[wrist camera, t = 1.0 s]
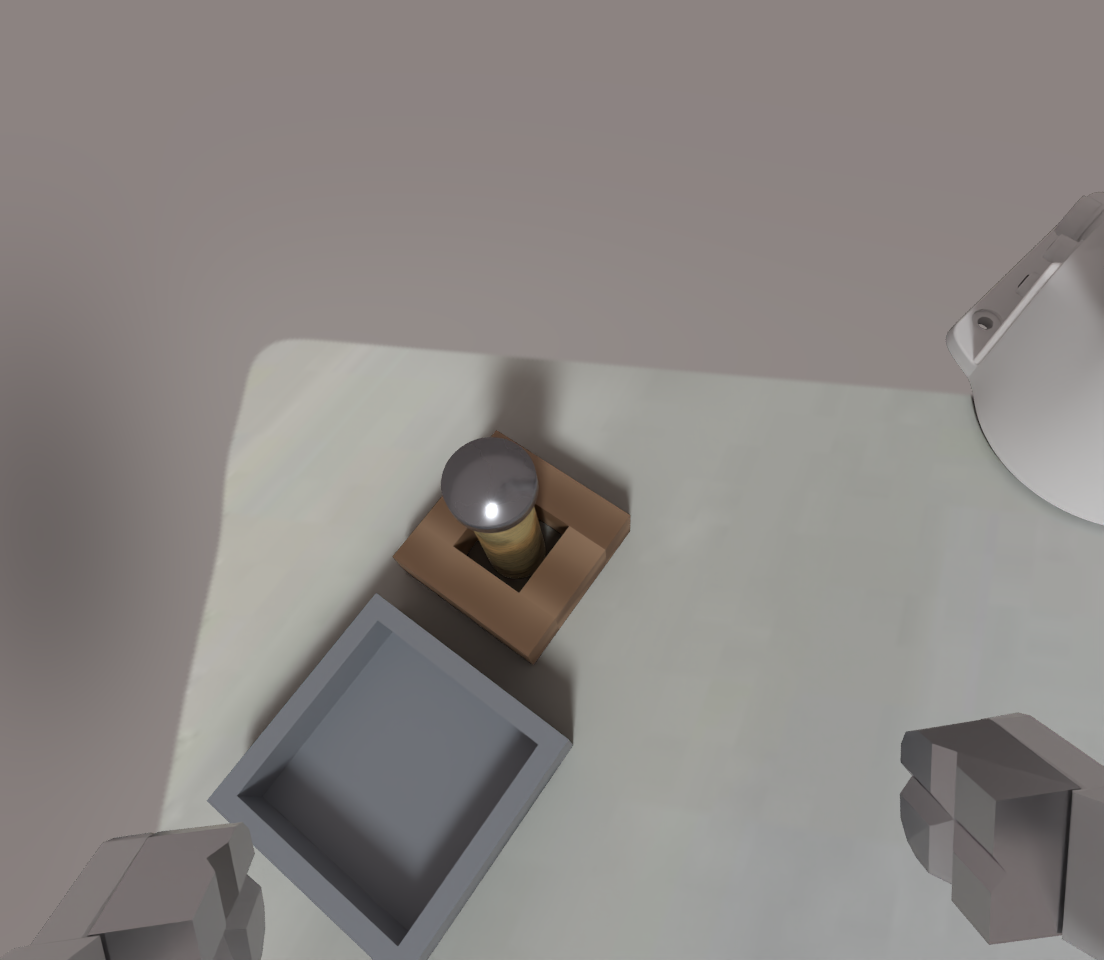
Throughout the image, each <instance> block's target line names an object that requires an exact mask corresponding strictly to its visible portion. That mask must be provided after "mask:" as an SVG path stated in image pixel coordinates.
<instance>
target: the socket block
mask: <svg viewBox="0 0 1104 960" xmlns="http://www.w3.org/2000/svg"><path fill="white" fill-rule="evenodd" d="M491 437H497V438H503V439H507V440H510V441H512V442H514V441H513V440H511V439H510V438H508V437H506V436H505V435H503V434H502V433H500V432H499V431H497V430H496V431H495V432H494V434H493V435H492V436H491ZM514 443H516V442H514ZM516 444H517V443H516ZM518 445H519V444H518ZM519 446H520V447H522V446H521V445H519ZM522 448H523V449H524V450H525V451H526V452H527V453H528V455H529V456H530V458H531V459H532V461H533V464H534V466H535V470H536V474H537V478H538V485H539V489H538V497H537V500H536V503H535V505H534V507H535V511H536V514H537V518H538V519H540V520H541V521H543V522H544V523H546V524H547V525H549V526H550V527H552V528H553V529H555V530H556V531H558V532H559V533H561V534H562V537H561V538H560V539H559V541H558V542H557V543H556V545H555V546H554V547H553V548H552V550H551V551H550V552H549V554H548V555H547V556H546V558H545V559H544V560H543V562H542V563H541V564H540V566H539V567H538V568H537V570H536V571H535V572H534V574H533V575H532V576H531V578H530V579H529V580H528V582H527V583H526V584H525V586H524V587H523V588H522V590H521V591H520V592H519V593H518V592H517V591H516V590H514V589H513V588H511V587H510V586H508V585H507V584H506V583H504V582H503V581H501V580H500V579H499V578H497V577H496V576H494V575H493V574H492V573H490V572H489V571H487V570H486V569H484V568H483V567H482V566H480V565H479V564H477V563H476V562H475V561H473V560H472V559H470V558H469V557H468V556H466V555H467V553H468V552H469V551H470V550H471V548H472V547H473V546H474V545H475V543H476V542H477V541H478V538H477V536H476V534H475V532H474V531H473V530H471V529H468V528H467V527H465V526H463V525H462V524H461V523H459V522H458V521H457V520H456V519H455V517H454V516H453V515H452V513H451V511H450V510H449V508H448V506H447V504H446V502H445V500H444V498H443V496H442V497H441V498H440V499H439V501H438V502H437V503H436V504H435V505H434V507H433V508H432V509H431V510H430V512H429V513H428V514H427V515H426V516H425V518H424V519H423V520H422V521H421V523H420V524H419V525H418V526H417V527H416V529H415V530H414V531H413V532H412V534H411V535H410V536H409V537H408V538H407V540H406V541H405V542H404V543H403V545H402V546H401V547H400V548H399V549H398V551H397V552H396V553H395V554H394V555H393V558H394V559H395V560H396V561H397V562H398V563H399V565H400V566H401V567H402V568H403V569H404V570H405V571H406V572H408V573H409V574H410V575H412V576H413V577H415V578H416V579H417V580H419V581H420V582H421V583H423V584H424V585H425V586H427V587H428V588H429V589H431V590H432V591H433V592H435V593H436V594H438V595H439V596H440V597H442V598H443V599H444V600H446V601H447V602H448V603H450V604H451V605H452V606H454V607H455V608H456V609H458V610H459V611H461V612H462V613H463V614H465V615H466V616H467V617H469V618H470V619H471V620H473V621H474V622H475V623H477V624H478V625H480V626H481V627H482V628H484V629H485V630H486V631H488V632H489V633H490V634H492V635H493V636H494V637H496V638H497V639H498V640H500V641H501V642H503V643H504V644H505V645H507V646H508V647H509V648H511V649H512V650H513V651H515V652H516V653H517V654H519V655H520V656H521V657H523V658H524V659H526V660H527V661H528V662H530V663H531V664H532V665H534V664H535V662H536V661H537V659H538V658H539V657H540V655H541V654H542V652H543V651H544V650H545V648H546V647H547V646H548V644H549V643H550V641H551V640H552V639H553V637H554V636H555V634H556V633H557V632H558V630H559V629H560V628H561V626H562V625H563V623H564V622H565V621H566V619H567V618H568V616H569V615H570V614H571V612H572V611H573V609H574V608H575V607H576V605H577V604H578V603H579V601H580V600H581V598H582V597H583V596H584V594H585V593H586V591H587V590H588V589H589V587H590V586H591V585H592V583H593V582H594V580H595V579H596V578H597V576H598V575H599V573H600V572H601V571H602V569H603V568H604V566H605V565H606V564H607V562H608V561H609V560H610V558H611V557H612V555H613V554H614V553H615V551H616V550H617V548H618V547H619V546H620V544H621V543H622V542H623V540H624V539H625V537H626V536H627V535H628V533H629V532H630V515H629V514H627V513H626V512H624V511H623V510H621V509H620V508H618V507H616V506H615V505H613V504H612V503H610V502H609V501H607V500H605V499H604V498H602V497H601V496H599V495H598V494H596V493H594V492H593V491H591V490H590V489H588V488H587V487H585V486H583V485H582V484H580V483H579V482H577V481H576V480H574V479H572V478H571V477H569V476H568V475H566V474H565V473H563V472H561V471H560V470H558V469H557V468H555V467H554V466H552V465H550V464H549V463H547V462H546V461H544V460H543V459H541V458H539V457H538V456H536V455H535V454H533V453H532V452H530V451H528V450H527V449H525V448H524V447H522Z"/></svg>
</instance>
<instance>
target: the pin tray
mask: <svg viewBox="0 0 1104 960" xmlns="http://www.w3.org/2000/svg"><path fill="white" fill-rule="evenodd" d="M572 746H573V744H572V743H571V742H570V741H569V739H567V738H566V737H565V736H563V735H562V734H561V733H560V732H558V731H557V730H556V729H554V728H553V727H552V726H550V725H549V724H548V723H546V722H545V721H544V720H542V719H541V718H540V717H539V716H537V715H536V714H535V713H533V712H532V711H531V710H529V709H528V708H527V707H525V706H524V705H523V704H521V703H520V702H519V701H518V700H516V699H515V698H514V697H512V696H511V695H510V694H508V693H507V692H506V691H504V690H503V689H502V688H500V687H499V686H498V685H497V684H495V683H494V682H493V681H491V680H490V679H489V678H487V677H486V676H485V675H483V674H482V673H481V672H479V671H478V670H477V669H475V668H474V667H473V666H472V665H470V664H469V663H468V662H466V661H465V660H464V659H462V658H461V657H460V656H458V655H457V654H456V653H454V652H453V651H452V650H451V649H449V648H448V647H447V646H445V645H444V644H443V643H441V642H440V641H439V640H437V639H436V638H435V637H433V636H432V635H431V634H430V633H428V632H427V631H426V630H424V629H423V628H422V627H420V626H419V625H418V624H416V623H415V622H414V621H412V620H411V619H410V618H409V617H407V616H406V615H405V614H403V613H402V612H401V611H399V610H398V609H397V608H395V607H394V606H393V605H391V604H390V603H389V602H387V601H386V600H385V599H384V598H382V597H381V596H380V595H378V594H377V593H376V594H375V595H374V596H373V597H372V599H371V600H370V601H369V602H368V603H367V605H366V606H365V607H364V608H363V610H362V611H361V612H360V613H359V614H358V616H357V617H356V618H355V619H354V621H353V622H352V623H351V624H350V626H349V627H348V628H347V629H346V630H345V632H344V633H343V634H342V635H341V637H340V638H339V639H338V640H337V642H336V643H335V644H334V645H333V646H332V648H331V649H330V650H329V651H328V653H327V654H326V655H325V656H324V657H323V659H322V660H321V661H320V662H319V664H318V665H317V666H316V667H315V669H314V670H313V671H312V672H311V673H310V675H309V676H308V677H307V678H306V680H305V681H304V682H303V683H302V684H301V686H300V687H299V688H298V689H297V691H296V692H295V693H294V694H293V696H292V697H291V698H290V699H289V700H288V702H287V703H286V704H285V705H284V707H283V708H282V709H281V710H280V712H279V713H278V714H277V715H276V716H275V718H274V719H273V720H272V721H271V723H270V724H269V725H268V726H267V727H266V729H265V730H264V731H263V732H262V734H261V735H260V736H259V737H258V739H257V740H256V741H255V742H254V743H253V745H252V746H251V747H250V748H249V750H248V751H247V752H246V753H245V754H244V756H243V757H242V758H241V759H240V761H239V762H238V763H237V764H236V766H235V767H234V768H233V769H232V770H231V772H230V773H229V774H228V775H227V777H226V778H225V779H224V780H223V782H222V783H221V784H220V785H219V786H218V788H217V789H216V790H215V791H214V793H213V794H212V795H211V796H210V797H209V799H208V800H207V802H209V803H210V804H211V805H212V806H213V807H214V808H215V809H216V810H217V811H218V812H219V813H220V814H221V815H222V816H223V817H224V818H225V819H226V820H227V821H228V822H229V823H238V822H243V823H244V824H245V825H246V826H247V827H248V828H249V830H250V835H251V839H252V844H253V845H254V846H255V847H256V848H257V849H258V850H259V851H260V852H261V853H262V854H263V855H264V856H265V857H266V858H267V859H268V860H269V861H270V862H271V863H272V864H273V865H275V866H276V867H277V868H278V869H279V870H280V871H281V872H282V873H283V874H284V875H285V876H286V877H287V878H288V879H289V880H290V881H291V882H292V883H293V884H294V885H295V886H297V887H298V888H299V889H300V890H301V891H302V892H303V893H304V894H305V895H306V896H307V897H308V898H309V899H310V900H311V901H312V902H313V903H314V904H315V905H316V906H317V907H319V908H320V909H321V910H322V911H323V912H324V913H325V914H326V915H327V916H328V917H329V918H330V919H331V920H332V921H333V922H334V923H335V924H336V925H337V926H338V927H339V928H341V929H342V930H343V931H344V932H345V933H346V934H347V935H348V936H349V937H350V938H351V939H352V940H353V941H354V942H355V943H356V944H357V945H358V946H359V947H360V948H361V949H363V950H364V951H365V952H366V953H367V954H368V955H369V956H370V957H371V958H372V959H373V960H427V959H428V958H429V956H430V955H431V953H432V952H433V951H434V949H435V948H436V946H437V945H438V943H439V942H440V940H441V939H442V937H443V936H444V934H445V933H446V931H447V930H448V928H449V927H450V926H451V924H452V923H453V921H454V920H455V918H456V917H457V915H458V914H459V912H460V911H461V909H462V908H463V906H464V905H465V903H466V902H467V901H468V899H469V898H470V896H471V895H472V893H473V892H474V890H475V889H476V887H477V886H478V884H479V883H480V881H481V880H482V879H483V877H484V876H485V874H486V873H487V871H488V870H489V868H490V867H491V865H492V864H493V862H494V861H495V859H496V858H497V856H498V855H499V854H500V852H501V851H502V849H503V848H504V846H505V845H506V843H507V842H508V840H509V839H510V837H511V836H512V834H513V833H514V831H515V830H516V829H517V827H518V826H519V824H520V823H521V821H522V820H523V818H524V817H525V815H526V814H527V812H528V811H529V809H530V808H531V806H532V805H533V804H534V802H535V801H536V799H537V798H538V796H539V795H540V793H541V792H542V790H543V789H544V787H545V786H546V784H547V783H548V782H549V780H550V779H551V777H552V776H553V774H554V773H555V771H556V770H557V768H558V767H559V765H560V764H561V762H562V761H563V759H564V758H565V757H566V755H567V754H568V752H569V751H570V749H571V748H572Z"/></svg>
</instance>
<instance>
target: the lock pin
mask: <svg viewBox="0 0 1104 960" xmlns="http://www.w3.org/2000/svg"><path fill="white" fill-rule="evenodd" d="M538 489H539V485H538V478H537V474H536V470H535V466H534V464H533V461H532V459H531V458H530V456H529V455H528V453H527V452H526V451H525V450H524V449H523V448H522V447H520V446H519V445H518V444H516V443H514V442H512V441H510V440H507V439H503V438H497V437H487V438H481V439H477V440H474V441H471V442H469V443H467V444H465V445H464V446H462V447H461V448H460V449H458V450H457V451H456V452H455V453H454V454H453V455H452V456H451V458H450V459H449V460H448V462H447V464H446V466H445V468H444V471H443V474H442V479H441V490H442V495H443V498H444V500H445V502H446V504H447V506H448V508H449V510H450V511H451V513H452V515H453V516H454V517H455V519H456V520H457V521H458V522H459V523H461V524H462V525H463V526H465V527H467V528H468V529H471V530H473V531H474V532H475V534H476V536H477V538H478V540H479V542H480V544H481V546H482V547H483V549H484V551H485V553H486V555H487V557H488V559H489V561H490V562H491V564H492V566H493V568H494V569H495V570H496V571H497V572H498V573H499V574H501V575H503V576H505V577H508V578H512V579H519V578H524V577H527V576H529V575H531V574H533V573H534V572H535V571H536V570H537V568H538V567H539V566H540V564H541V563H542V562H543V560H544V558H545V554H546V547H545V542H544V539H543V535H542V532H541V528H540V525H539V521H538V518H537V514H536V511H535V507H534V505H535V503H536V500H537V497H538Z"/></svg>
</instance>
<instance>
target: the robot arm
mask: <svg viewBox="0 0 1104 960" xmlns="http://www.w3.org/2000/svg"><path fill="white" fill-rule="evenodd" d="M978 324H982V325H984V326H986V327H987V329H983V328H981V327H980V326H979V325H978ZM946 344H947V347H948V349H949V351H950V353H951V355H952V356H953V358H954V360H955V361H956V362H957V364H958V365H959V367H960V368H961V369H962V371H963V372H964V373H965V375H966V376H967V378H968V380H969V382H970V385H971V388H972V392H973V397H974V403H975V408H976V412H977V416H978V419H979V422H980V425H981V428H982V430H983V432H984V434H985V436H986V438H987V440H988V442H989V444H990V446H991V447H992V449H993V450H994V452H995V453H996V455H997V456H998V457H999V459H1000V460H1001V461H1002V463H1003V464H1004V465H1005V466H1006V467H1007V468H1008V470H1009V471H1010V472H1011V473H1012V474H1013V475H1014V476H1015V477H1016V478H1017V479H1018V480H1020V481H1021V482H1022V483H1023V484H1024V485H1025V486H1027V487H1028V488H1029V489H1030V490H1031V491H1033V492H1034V493H1036V494H1037V495H1038V496H1040V497H1041V498H1043V499H1044V500H1046V501H1048V502H1049V503H1051V504H1053V505H1054V506H1056V507H1058V508H1060V509H1062V510H1064V511H1066V512H1068V513H1070V514H1072V515H1075V516H1077V517H1080V518H1082V519H1085V520H1088V521H1091V522H1094V523H1097V524H1101V525H1104V192H1096V193H1092V194H1090V195H1089V196H1087V197H1086V196H1082V197H1081V198H1080V199H1079V200H1078V202H1077V203H1076V204H1075V205H1074V206H1073V207H1072V208H1071V210H1070V211H1069V212H1068V213H1067V214H1066V216H1065V217H1064V218H1063V219H1062V220H1061V222H1060V223H1059V224H1058V225H1056V226H1055V227H1054V228H1053V230H1052V231H1050V232H1049V233H1048V234H1047V235H1046V236H1045V237H1044V238H1043V239H1042V240H1041V241H1040V242H1039V243H1038V244H1037V245H1036V246H1035V247H1034V248H1033V249H1032V250H1031V251H1030V252H1029V253H1028V254H1027V255H1026V256H1025V257H1024V258H1023V259H1022V260H1020V261H1019V262H1018V263H1017V264H1016V265H1015V266H1014V267H1013V268H1012V269H1011V270H1010V271H1009V272H1008V273H1007V274H1006V275H1005V276H1004V277H1003V278H1002V279H1001V280H1000V281H999V282H998V283H997V284H996V285H995V286H994V287H993V288H992V289H991V290H990V291H988V292H987V293H986V295H984V296H983V297H982V298H981V299H980V300H979V301H978V302H977V303H976V304H975V305H974V306H973V307H972V308H971V309H970V310H969V311H968V312H967V313H966V314H965V315H964V316H963V317H962V318H961V319H960V320H959V321H958V322H957V323H956V324H955V325H954V326H953V327H952V328H951V329H950V330H949V332H948V334H947V336H946ZM901 763H902V764H903V765H904V767H905V768H906V769H907V770H908V772H909V773H910V774H911V775H912V777H911V778H910V780H909V781H908V783H907V784H906V786H905V787H904V789H903V790H902V792H901V793H900V811H901V821H902V824H903V828H904V831H905V835H906V838H907V841H908V843H909V845H910V847H911V849H912V851H913V852H914V854H915V856H916V858H917V859H918V860H919V862H920V863H921V864H922V865H923V867H924V868H925V869H926V870H927V872H928V873H930V874H932V875H934V876H936V877H938V878H940V879H942V880H944V881H946V882H948V883H950V884H952V902H953V903H954V904H955V905H956V906H957V907H958V909H959V910H960V911H961V912H962V913H963V915H964V916H965V917H966V918H967V919H968V920H969V922H970V923H971V924H972V925H973V926H974V928H975V929H976V930H977V931H978V932H979V933H980V935H981V936H982V937H983V938H984V939H985V941H986V942H987V943H988V944H989V945H991V944H999V943H1006V942H1014V941H1021V940H1029V939H1037V938H1044V937H1052V936H1059V935H1062V939H1063V940H1064V941H1066V942H1068V943H1070V944H1071V945H1073V946H1075V947H1076V948H1078V949H1080V950H1081V951H1083V952H1085V953H1086V954H1088V955H1090V956H1091V957H1093V958H1095V959H1096V960H1104V766H1102V765H1101V764H1100V763H1098V762H1097V761H1095V760H1094V759H1092V758H1091V757H1089V756H1088V755H1087V754H1085V753H1084V752H1082V751H1081V750H1079V749H1078V748H1076V747H1075V746H1074V745H1072V744H1071V743H1069V742H1068V741H1066V740H1065V739H1064V738H1062V737H1061V736H1059V735H1058V734H1056V733H1055V732H1053V731H1052V730H1051V729H1049V728H1048V727H1046V726H1045V725H1043V724H1042V723H1040V722H1039V721H1038V720H1036V719H1035V718H1033V717H1032V716H1030V715H1026V714H1022V713H1013V714H1007V715H1001V716H996V717H990V718H984V719H981V720H976V721H970V722H964V723H957V724H951V725H945V726H939V727H932V728H926V729H920V730H914V731H907V732H906V733H905V735H904V738H903V741H902V743H901ZM254 854H255V853H254V848H253V844H252V839H251V835H250V830H249V828H248V827H247V826H246V825H245V824H244V823H243V822H238V823H230V824H221V825H213V826H204V827H196V828H187V829H178V830H170V831H161V832H157V833H144V834H138V835H131V836H123V837H117V838H112V839H110V840H108V841H105V842H103V843H102V844H101V845H100V847H99V848H98V850H97V851H96V852H95V854H94V855H93V857H92V858H91V859H90V861H89V862H88V864H87V865H86V867H85V868H84V869H83V871H82V872H81V874H80V875H79V876H78V878H77V879H76V881H75V882H74V884H73V885H72V886H71V888H70V889H69V891H68V892H67V893H66V895H65V896H64V898H63V899H62V901H61V902H60V903H59V905H58V906H57V908H56V909H55V911H54V912H53V913H52V915H51V916H50V918H49V919H48V921H47V922H46V923H45V925H44V926H43V928H42V929H41V930H40V932H39V933H38V935H37V936H36V937H35V939H34V940H33V942H32V943H31V945H30V946H24V947H18V948H14V949H12V950H11V951H9V952H8V953H6V954H5V955H3V956H2V957H0V960H261V957H262V951H263V942H264V934H265V911H264V901H263V895H262V890H261V886H260V885H258V884H257V883H256V882H255V881H254V880H253V879H252V878H250V877H249V876H248V875H247V872H248V870H249V867H250V865H251V862H252V859H253V857H254Z"/></svg>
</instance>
